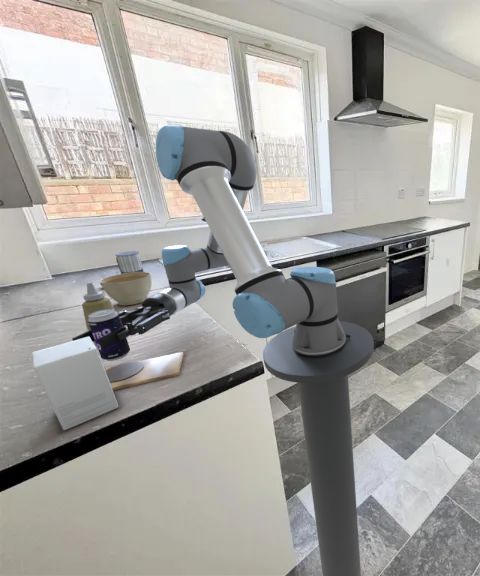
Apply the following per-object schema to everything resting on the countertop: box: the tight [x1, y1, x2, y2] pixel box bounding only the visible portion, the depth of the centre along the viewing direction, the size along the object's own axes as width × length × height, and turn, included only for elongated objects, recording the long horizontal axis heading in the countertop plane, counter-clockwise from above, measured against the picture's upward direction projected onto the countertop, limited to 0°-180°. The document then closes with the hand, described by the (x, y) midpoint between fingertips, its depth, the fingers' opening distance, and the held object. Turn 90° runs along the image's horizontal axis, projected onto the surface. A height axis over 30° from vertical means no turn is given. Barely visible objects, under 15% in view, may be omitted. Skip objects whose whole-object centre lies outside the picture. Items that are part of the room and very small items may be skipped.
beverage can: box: [88, 308, 131, 362], centre depth 76 cm, size 6×6×12 cm
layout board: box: [104, 351, 185, 391], centre depth 79 cm, size 20×12×1 cm, turn 116°
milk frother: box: [99, 250, 144, 287], centre depth 149 cm, size 14×16×15 cm
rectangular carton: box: [32, 336, 119, 431], centre depth 65 cm, size 9×9×15 cm
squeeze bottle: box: [81, 281, 117, 331], centre depth 97 cm, size 8×8×18 cm
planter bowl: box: [99, 271, 152, 306], centre depth 127 cm, size 16×16×11 cm
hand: (88, 344), depth 71 cm, fingers closed on beverage can, 6 cm apart
